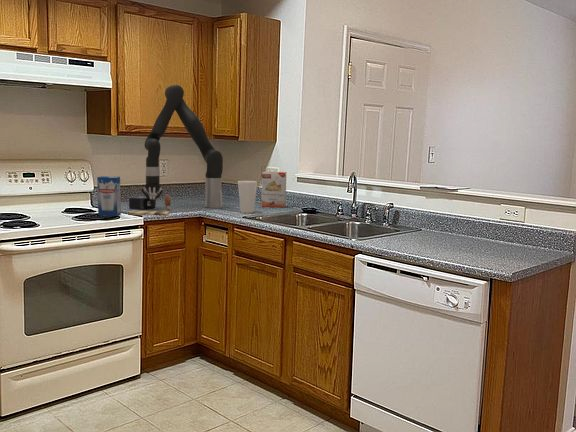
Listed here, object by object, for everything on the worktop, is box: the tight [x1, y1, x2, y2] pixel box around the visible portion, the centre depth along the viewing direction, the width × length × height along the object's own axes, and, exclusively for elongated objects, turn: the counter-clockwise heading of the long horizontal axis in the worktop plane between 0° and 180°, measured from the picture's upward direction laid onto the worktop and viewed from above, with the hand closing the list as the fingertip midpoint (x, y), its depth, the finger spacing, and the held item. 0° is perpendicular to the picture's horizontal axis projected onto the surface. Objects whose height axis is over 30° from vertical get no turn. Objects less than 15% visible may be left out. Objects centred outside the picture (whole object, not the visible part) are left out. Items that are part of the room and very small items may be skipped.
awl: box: [164, 194, 171, 212], centre depth 329 cm, size 3×3×9 cm
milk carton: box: [96, 175, 122, 217], centre depth 312 cm, size 10×6×20 cm, turn 89°
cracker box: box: [261, 170, 287, 208], centre depth 359 cm, size 14×6×21 cm, turn 83°
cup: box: [237, 180, 258, 214], centre depth 334 cm, size 11×10×17 cm
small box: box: [128, 195, 156, 211], centre depth 343 cm, size 11×6×10 cm
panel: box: [128, 210, 171, 216], centre depth 322 cm, size 20×9×1 cm, turn 90°
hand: (152, 205), depth 339 cm, fingers closed
